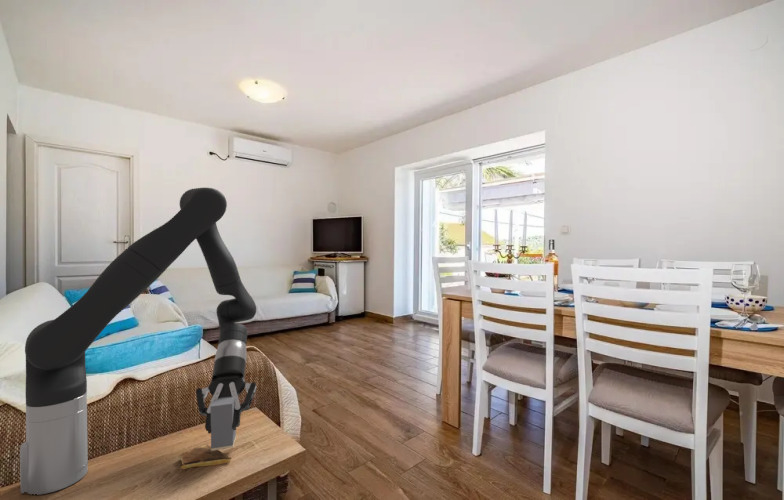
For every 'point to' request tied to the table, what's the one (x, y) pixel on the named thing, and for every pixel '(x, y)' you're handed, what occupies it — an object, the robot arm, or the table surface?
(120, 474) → the table surface
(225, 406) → the sanding block
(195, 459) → the shard
